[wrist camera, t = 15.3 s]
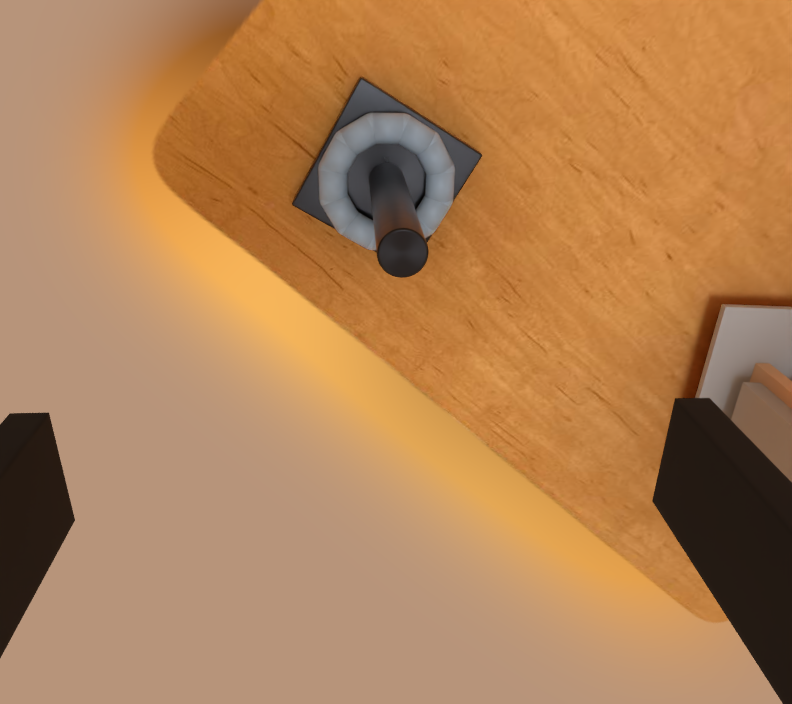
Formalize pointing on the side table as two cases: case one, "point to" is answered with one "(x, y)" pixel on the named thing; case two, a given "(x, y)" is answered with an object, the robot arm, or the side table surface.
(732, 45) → the side table surface
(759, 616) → the robot arm
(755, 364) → the desk lamp
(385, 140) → the ring
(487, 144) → the side table surface
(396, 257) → the post
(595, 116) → the side table surface
